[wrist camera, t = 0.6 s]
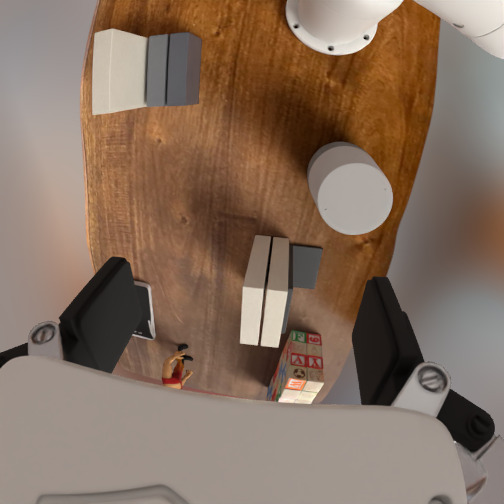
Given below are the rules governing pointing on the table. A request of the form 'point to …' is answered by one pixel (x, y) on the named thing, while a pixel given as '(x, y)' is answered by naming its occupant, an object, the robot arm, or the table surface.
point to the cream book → (119, 71)
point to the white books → (274, 286)
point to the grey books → (173, 70)
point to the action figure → (175, 370)
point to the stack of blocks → (298, 370)
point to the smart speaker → (349, 188)
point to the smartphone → (145, 312)
